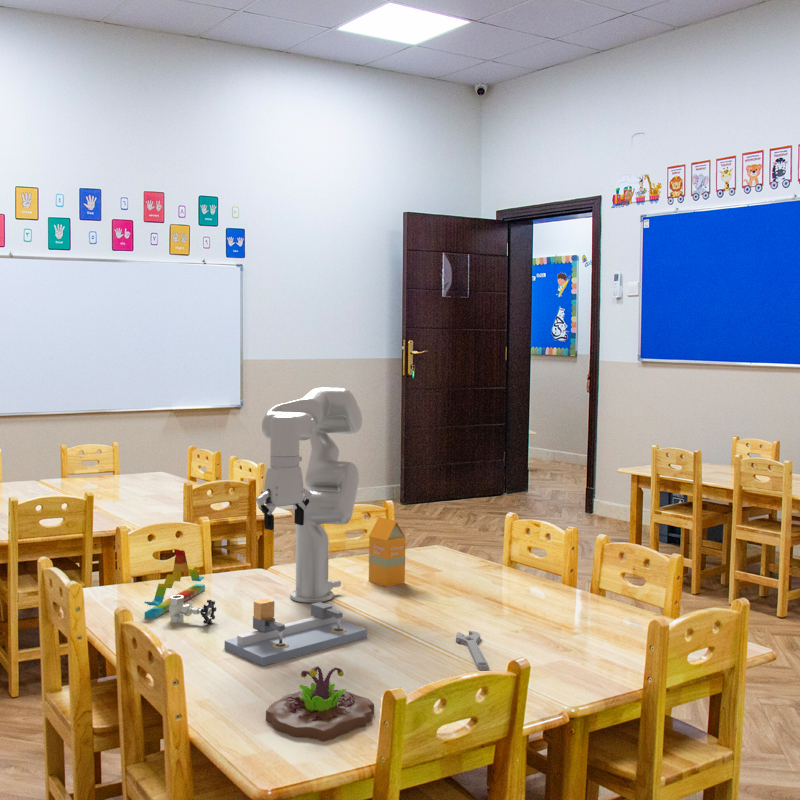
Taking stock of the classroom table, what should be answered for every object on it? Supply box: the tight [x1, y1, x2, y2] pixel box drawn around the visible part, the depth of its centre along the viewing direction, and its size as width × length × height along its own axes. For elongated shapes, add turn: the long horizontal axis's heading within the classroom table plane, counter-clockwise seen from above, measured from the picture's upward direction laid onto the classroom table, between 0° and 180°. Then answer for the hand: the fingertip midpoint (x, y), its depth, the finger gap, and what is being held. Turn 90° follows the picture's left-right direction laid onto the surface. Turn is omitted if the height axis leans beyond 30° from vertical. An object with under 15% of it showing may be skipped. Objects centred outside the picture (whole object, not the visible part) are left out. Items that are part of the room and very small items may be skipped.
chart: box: [144, 549, 206, 620], centre depth 258 cm, size 30×3×15 cm, turn 166°
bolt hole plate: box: [224, 602, 368, 667], centre depth 225 cm, size 32×16×7 cm, turn 134°
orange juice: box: [368, 516, 406, 588], centre depth 285 cm, size 8×9×20 cm
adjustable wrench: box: [455, 630, 489, 671], centre depth 221 cm, size 25×6×2 cm, turn 0°
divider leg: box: [252, 598, 285, 643], centre depth 220 cm, size 4×10×9 cm, turn 44°
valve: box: [168, 594, 217, 625], centre depth 241 cm, size 7×7×12 cm
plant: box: [265, 665, 375, 742], centre depth 180 cm, size 20×20×11 cm
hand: (284, 526), depth 238 cm, fingers open, 9 cm apart
